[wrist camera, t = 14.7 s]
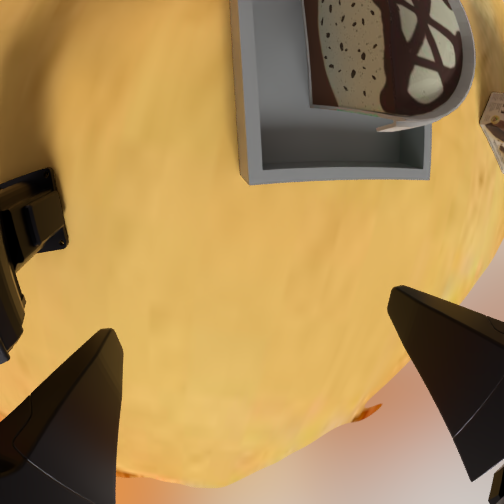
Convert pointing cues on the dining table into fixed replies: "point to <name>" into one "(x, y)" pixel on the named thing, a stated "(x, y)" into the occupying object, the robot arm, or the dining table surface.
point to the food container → (389, 58)
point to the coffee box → (495, 125)
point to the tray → (305, 111)
